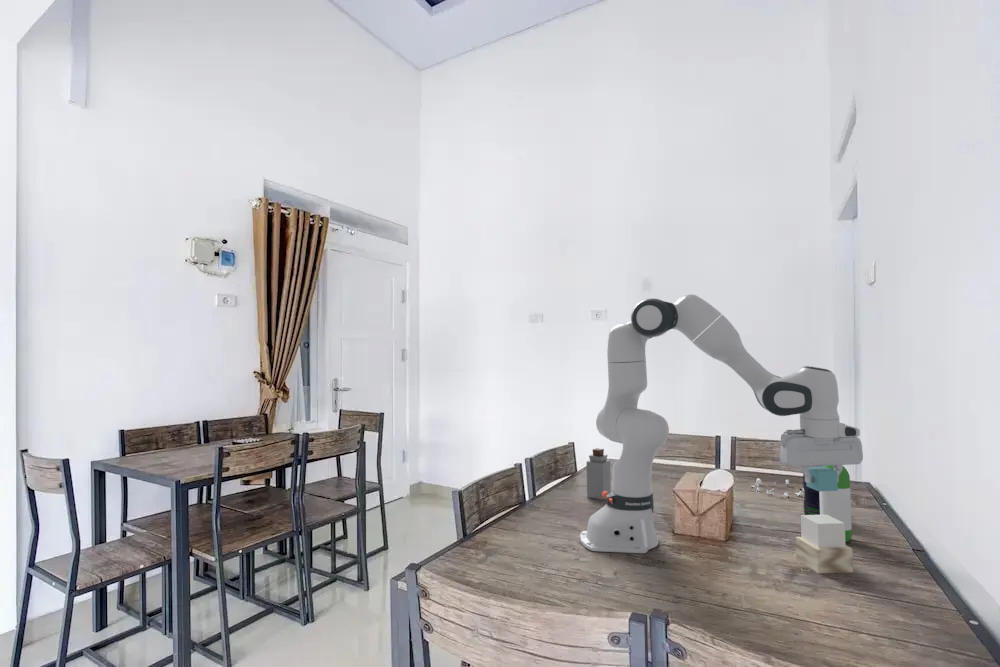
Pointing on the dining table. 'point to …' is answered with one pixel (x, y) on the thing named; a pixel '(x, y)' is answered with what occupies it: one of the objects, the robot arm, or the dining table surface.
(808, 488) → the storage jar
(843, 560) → the birch base block
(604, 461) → the perfume bottle
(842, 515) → the wine bottle
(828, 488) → the teal cube
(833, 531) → the white middle block
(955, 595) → the dining table surface
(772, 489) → the game piece set
